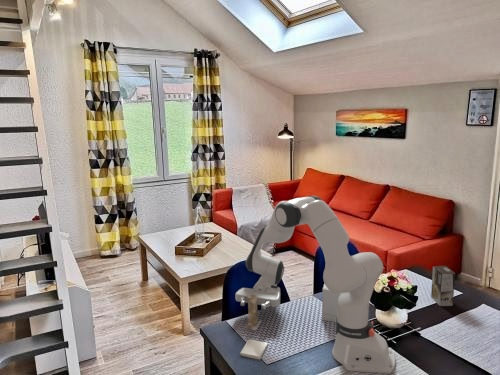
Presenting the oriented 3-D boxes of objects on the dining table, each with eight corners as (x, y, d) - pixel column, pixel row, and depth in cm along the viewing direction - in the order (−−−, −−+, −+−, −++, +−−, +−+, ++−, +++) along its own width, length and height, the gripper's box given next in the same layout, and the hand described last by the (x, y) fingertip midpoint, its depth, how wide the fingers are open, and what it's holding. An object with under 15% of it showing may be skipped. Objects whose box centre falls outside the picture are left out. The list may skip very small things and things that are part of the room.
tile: (267, 342, 150) (260, 356, 141) (267, 346, 150) (260, 360, 142) (248, 339, 152) (240, 352, 144) (248, 342, 153) (240, 356, 145)
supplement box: (342, 323, 163) (343, 291, 160) (321, 320, 166) (321, 289, 163) (344, 312, 172) (345, 282, 169) (324, 310, 175) (324, 280, 172)
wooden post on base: (261, 322, 166) (260, 293, 164) (256, 330, 160) (255, 301, 157) (250, 320, 168) (249, 292, 165) (245, 328, 162) (244, 299, 159)
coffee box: (453, 306, 175) (456, 273, 171) (439, 306, 175) (441, 273, 171) (443, 296, 184) (446, 265, 180) (430, 296, 184) (432, 265, 180)
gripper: (241, 282, 178) (229, 296, 165) (283, 287, 171) (275, 302, 158) (241, 294, 179) (230, 309, 166) (283, 300, 172) (275, 316, 160)
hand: (252, 306), depth 162 cm, fingers open, 8 cm apart
